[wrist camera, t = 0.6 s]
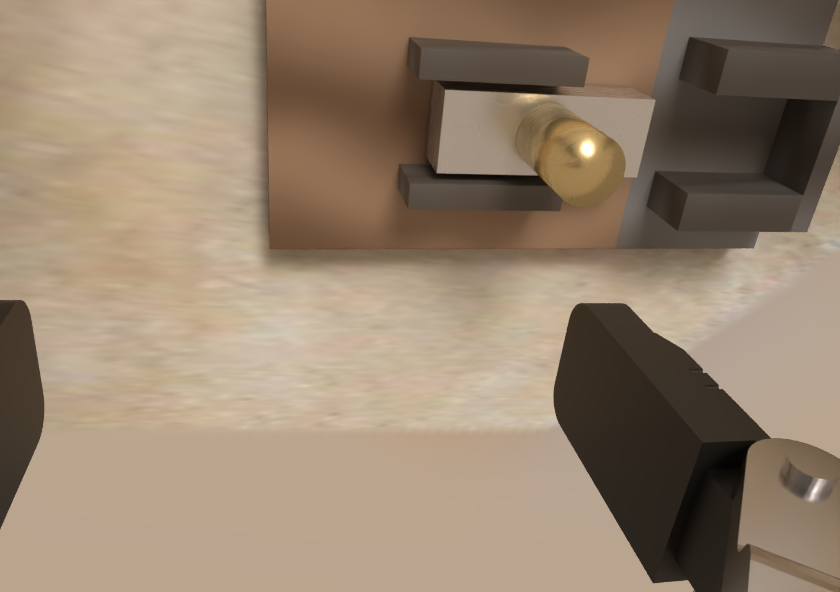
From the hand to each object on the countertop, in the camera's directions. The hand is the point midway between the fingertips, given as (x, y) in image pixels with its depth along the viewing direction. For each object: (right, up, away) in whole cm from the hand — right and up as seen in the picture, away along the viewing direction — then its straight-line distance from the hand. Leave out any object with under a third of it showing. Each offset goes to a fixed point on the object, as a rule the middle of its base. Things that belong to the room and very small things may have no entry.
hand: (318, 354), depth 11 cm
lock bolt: (+6, +8, +17) cm, 19 cm away
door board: (+6, +9, +18) cm, 21 cm away
